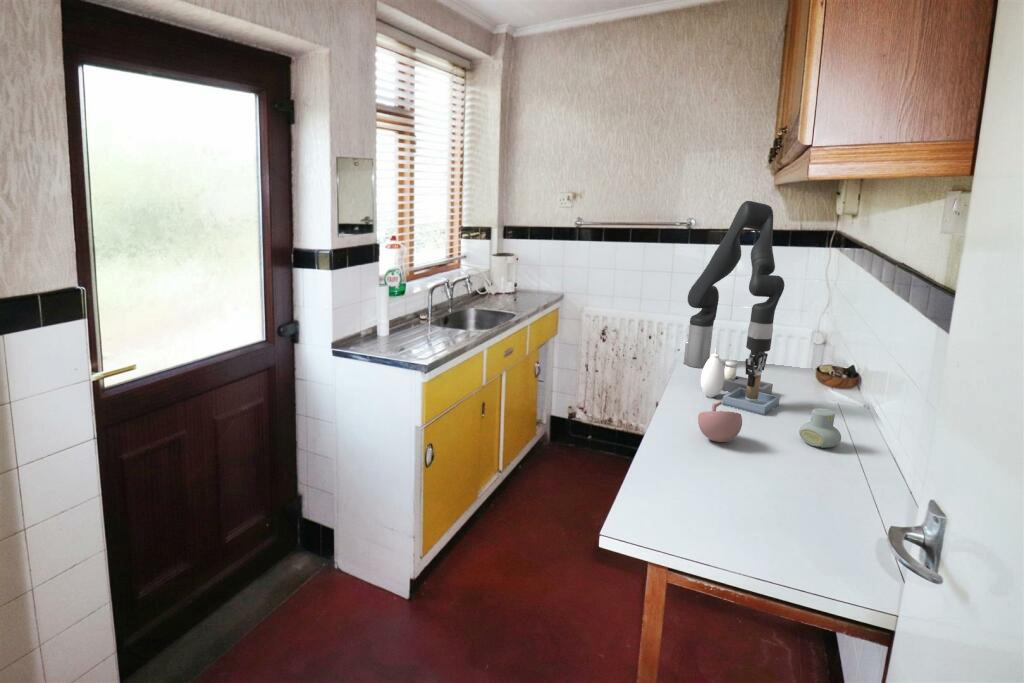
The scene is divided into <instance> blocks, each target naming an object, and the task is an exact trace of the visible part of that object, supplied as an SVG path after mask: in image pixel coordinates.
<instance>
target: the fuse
mask: <svg viewBox="0 0 1024 683" xmlns="http://www.w3.org/2000/svg"><path fill="white" fill-rule="evenodd" d="M737 368H738V361H736V360H726V361H725V364H724V375H725V378H724V379H728V380H732V381H735V378H736V376H737V371H738V370H737Z"/></svg>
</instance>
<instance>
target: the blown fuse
mask: <svg viewBox="0 0 1024 683" xmlns="http://www.w3.org/2000/svg"><path fill="white" fill-rule="evenodd" d="M762 373H763V371H762V372H761V371H759V370H757V373H756V378H755V386H754V387H749V386H747V388H746V396H745V399H746V400H748V401H752V402H756V401H758V395H759V387H760V381H761V379H762ZM747 382H748V381H747Z"/></svg>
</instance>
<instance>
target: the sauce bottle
mask: <svg viewBox="0 0 1024 683" xmlns="http://www.w3.org/2000/svg"><path fill="white" fill-rule="evenodd" d="M724 372H725V367H724V364H723V361H722V360H721V358H720V355H719V354H718V353H717V347H716V346H715V350H714V353H711V354H710V358H709V359H708V361H707V362H706V364H705V366H704V368H702V371H701V374H700V386H701V390H702V392H703V394H705V396H706V397H708V398H715V397H716V396H718V395H719V394H720V393H721V392H722V388H723V385H724V378H725V375H724Z"/></svg>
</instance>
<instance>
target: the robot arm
mask: <svg viewBox="0 0 1024 683" xmlns="http://www.w3.org/2000/svg"><path fill="white" fill-rule="evenodd" d="M744 229H749V230H750V229H751V230H755V231H758V232H759V235H760V236H759V238H758V239H757V240H756V242H755V243H754V244H753V247H751V250H750V260H751V277H750V281H749V284H748V291H749V293H750V294H751V295H752V296H754V297H758V298H759V297H762V298H767V300H766V301H763V302H758V303H755V304H753V305H752V307H751V313H750V321H749V324H748V331H747V336H746V338H747V339H746V345H745V347H746V348H747V349H748V350H750V353H749V355H748V358H745V362H744V363H745V375H747V378H748V382H747V386H749V387H754V386H755V378H756V373H757V370H759V371H761V372H762V373H763V371H765V367H766V363H767V359H768V355H769V354H768V352H770V351H771V347H772V342H773V341H772V340H773V335H774V334H773V333H774V319H775V313H776V312H775V311H776V309H777V306H778V303H779V302H780V299H781V297H782V295H783V293H784V289H785V281H784V278H783V277H782V276H780V275H774V274H773V273H774V272H775V270H776V263H775V257H774V253H773V252H774V251H773V239H774V238H773V237H774V236H773V234H774V210H773V208H772V206H771V205H769V204H766V203H763V202H757V201H752V200H745V201H743V203H742V204H741V205H740V206H739V208H738V210H737V211H736V213H735V215H734V217H733V219H732V222H731V224H730V225H729V228H728V230H727V232H726V233H725V236H724V237H723V239H722V240H721V242H720V243H719V245H718V247H717V248H716V250H715V251H714V253H713V255H712V256H711V259H710V260H709V262H708V263H707V265H706V267H705V268H704V269H703V271H702V273H701V274H700V275H699V277H698V278H697V279H696V280H695V282H694V283H693V285H692V286H691V287H690V289H689V291H688V294H687V303H688V305H689V307H691V308H694V309H701V310H700V311H699V312H697V313H695V314H693V315H692V316H690V318H689V326H688V327H689V328H688V337H687V341H686V342H685V346H684V357H683V365H686V366H688V367H692V368H696V367H697V369H703V368H704V366H705V364H706V362H707V361H708V359H709V358H710V357H711V349H712V338H713V331H714V330H713V329H714V323H715V320H716V317H717V312H718V305H719V301H720V300H719V298H720V294H719V290H718V287H716V286H715V284H717V283H718V282H720V281H722V280H723V279H724V278H726V277H727V276H729V275H730V274H731V273H732V272H733V271H734V269H735V268H736V267H737V265H738V263H739V262H740V260H741V258H742V246H741V240H740V236H741V232H743V230H744ZM771 274H772V275H771Z"/></svg>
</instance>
